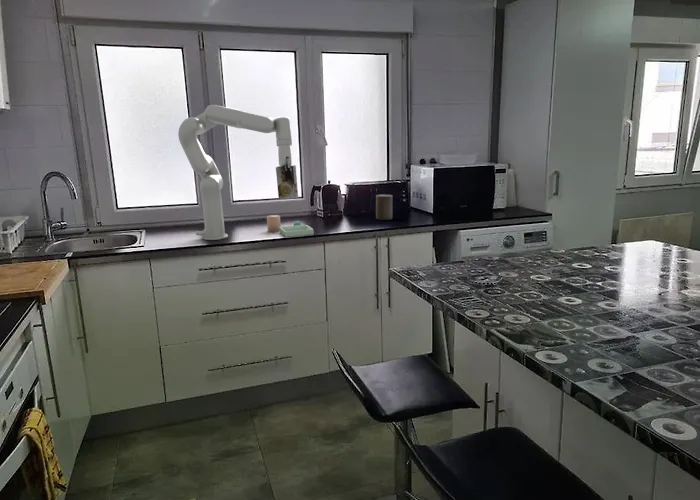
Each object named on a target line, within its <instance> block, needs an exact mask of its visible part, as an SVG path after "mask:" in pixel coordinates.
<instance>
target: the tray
mask: <svg viewBox="0 0 700 500" xmlns="http://www.w3.org/2000/svg"><path fill="white" fill-rule="evenodd" d="M279 228H280V231H279V233H280V234H281V235H282V236H283V238H284V239H285V238H286V239H287V238H299V237H300V238H301V237H309V236H314V235H315V233H314V232H315V231H314V228H312V227H311V226H309V225H307V224H301V225H298V226H294V225H288V226H281V227H279Z"/></svg>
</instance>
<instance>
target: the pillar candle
mask: <svg viewBox="0 0 700 500" xmlns="http://www.w3.org/2000/svg"><path fill="white" fill-rule="evenodd" d="M375 219H377V220H381V221H386V220H387V221H388V220H389V221H390V220H392V219H393V195H392V194H376V195H375Z"/></svg>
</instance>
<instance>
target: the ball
mask: <svg viewBox="0 0 700 500" xmlns="http://www.w3.org/2000/svg"><path fill="white" fill-rule="evenodd" d="M298 225H302V223H301V222H300V221H298V220H297V221H296V220H295V221H294V222H293V226H298Z"/></svg>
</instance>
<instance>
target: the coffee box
mask: <svg viewBox="0 0 700 500" xmlns="http://www.w3.org/2000/svg"><path fill="white" fill-rule="evenodd" d="M286 168H287V167H286ZM291 172H292V179H285V166H280V165H279V166H276V167H275V174H276V183H277V195H278V196H277V197H278V200H291V199H292V200H293V199H294V200H295V199H297V198H299V193H298V192H299V191H298V181H297V180H298V179H297V166H296V165H291Z"/></svg>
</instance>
